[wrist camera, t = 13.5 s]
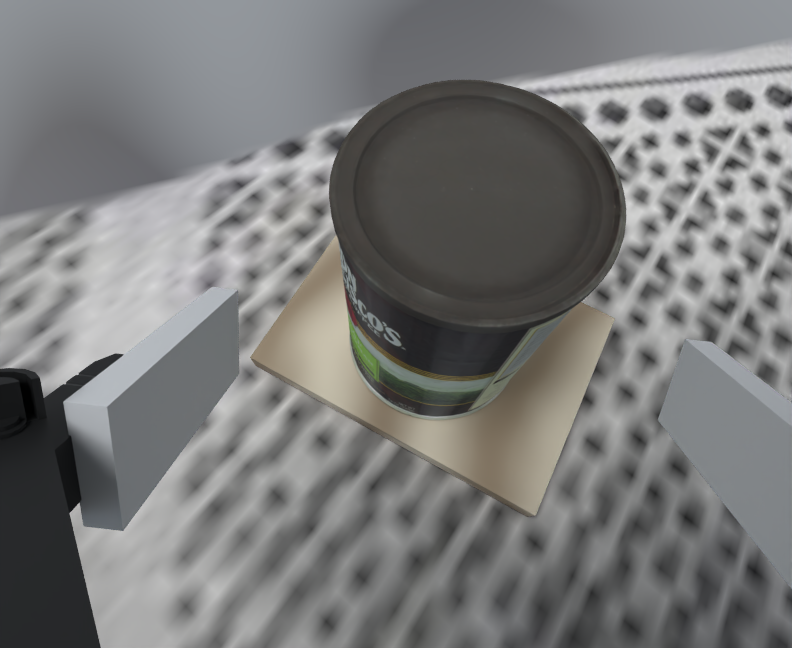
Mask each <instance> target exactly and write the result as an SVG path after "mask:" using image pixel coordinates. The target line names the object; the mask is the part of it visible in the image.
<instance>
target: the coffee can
mask: <svg viewBox="0 0 792 648" xmlns="http://www.w3.org/2000/svg"><path fill="white" fill-rule="evenodd" d="M329 199H330V207H331V215H332V220H333V224H334V228H335V232H336V235H337V238H338V241H339V250H340V259H341V267H342V274H343V281H344V290H345V298H346V304H347V313H348V321H349V330H350V332H349V342H350V350H351V355H352V360H353V362H354V365H355V367H356V369H357V372H358V373H359V375H360V377H361V378H362V380H363V382H364V383H365V384H366V386H367V387H368V388H369V389H370V390H371V391H372V392H373V393H374V394H375V395H376V396H377V397H378V398H379V399H380V400H382V401H383V402H384V403H386V404H387V405H388V406H390V407H392V408H394V409H395V410H397V411H399V412H401V413H404V414H406V415H409V416H413V417H416V418H421V419H428V420H447V419H454V418H459V417H463V416H467V415H469V414H472V413H474V412H476V411H478V410H480V409H482V408H483V407H485V406H486V405H488V404H489V403H490V402H492V401H493V400H494V399H495V398H496V397H497V396H498V395H499V394H500V393H501V392H502V391H503V390H504V388H505V387H506V385H507V384H508V382H509V381H510V379H511V378H512V377H513V376H514V375H515V373H516V372H517V371H518V370H519V369H520V368H521V367H522V366H523V365H524V363H525V362H526V361H527V360H528V359H529V358H530V357H531V356H532V354H533V353H534V352H535V351H536V350H537V348H538V347H539V346H540V345H541V344H542V343H543V341H544V340H545V339H546V338H547V337H548V336H549V335H550V333H551V332H552V331H553V330H554V329H555V328H556V327H557V326H558V324H559V323H560V322H561V321H562V320H563V319H564V317H565V316H566V315H567V314H568V313H569V312H570V311H571V309H572V308H573V307H575V306H576V305H578V304H579V303H580V302H581V301H582V300H583V299H585V298H586V297H587V296H588V295H589V294H590V293H591V292H592V291H593V290H594V289H595V288H596V287H597V286H598V285H599V283H600V282H601V281H602V280H603V279H604V277H605V276H606V275H607V273H608V272H609V271H610V269H611V268H612V266H613V264H614V262H615V260H616V258H617V256H618V253H619V250H620V247H621V244H622V241H623V238H624V233H625V225H626V203H625V197H624V192H623V187H622V184H621V181H620V178H619V175H618V172H617V170H616V169H615V166H614V164H613V162H612V160H611V158H610V156H609V155H608V153H607V151H606V150H605V148H604V147H603V145H602V144H601V143H600V142H599V141H598V139H597V138H596V137H595V136H594V135H593V134H592V133H591V132H590V131H589V130H588V129H587V128H586V127H585V126H584V125H583V124H582V123H581V122H580V121H579V120H577V119H576V118H575V117H573V116H572V115H571V114H570V113H568V112H567V111H565V110H564V109H562V108H561V107H559V106H557V105H556V104H554V103H552V102H550V101H548V100H546V99H544V98H542V97H540V96H538V95H536V94H533V93H530V92H528V91H525V90H522V89H519V88H516V87H511V86H507V85H503V84H499V83H493V82H487V81H480V80H448V81H441V82H434V83H431V84H425V85H422V86H419V87H415V88H412V89H409V90H406V91H404V92H401V93H399V94H397V95H394V96H392V97H390V98H389V99H387V100H385V101H383V102H381V103H380V104H378V105H377V106H376V107H374V108H373V109H371V110H370V111H369V112H368V113H366V114H365V115H364V116H363V117H362V118H361V119H360V120H359V121H358V123H357V124H356V125H355V126H354V127H353V128H352V130H351V131H350V132H349V134H348V135H347V137H346V138H345V140H344V141H343V143H342V145H341V147H340V149H339V151H338V153H337V156H336V158H335V161H334V164H333V167H332V171H331V176H330V185H329Z"/></svg>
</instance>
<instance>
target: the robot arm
mask: <svg viewBox="0 0 792 648" xmlns="http://www.w3.org/2000/svg"><path fill="white" fill-rule="evenodd" d="M238 374H239V323H238V290H235V289H226V288H217V287H211V288H210V289H209V290H207V291H206V292H205V293H204V294H202V295H201V296H200V297H198V298H197V299H196V300H194V301H193V302H192V303H191V304H189V305H188V306H187V307H185V308H184V309H183V310H182V311H180V312H179V313H178V314H176V315H175V316H174V317H172V318H171V319H170V320H169V321H167V322H166V323H165V324H163V325H162V326H161V327H159V328H158V329H157V330H156V331H154V332H153V333H152V334H150V335H149V336H148V337H147V338H145V339H144V340H143V341H141V342H140V343H139V344H137V345H136V346H135V347H134V348H132V349H131V350H130V351H128V352H127V353H126V354H113V355H111V356H108V357H106V358H103V359H100V360H98V361H95V362H93V363H92V364H91V365H89V366H88V367H86V368H85V369H84V370H82V371H81V372H80V373H79V375H75V376H74V377H73V378H71V379H70V380H68V381H67V382H66V385H65V384H63V385H62V386H60V387H59V388H57V389H56V390H55V391H53V392H52V393H50V394H49V395H48V396H46V397H45V398H43V393H42V387H41V382H40V378H39V376H38V375H37V374H36V373H35V372H32V371H29V370H26V369H14V368H6V369H0V648H101V647H100V643H99V639H98V634H97V630H96V626H95V621H94V617H93V613H92V609H91V604H90V600H89V596H88V591H87V587H86V583H85V579H84V574H83V570H82V566H81V561H80V557H79V553H78V549H77V544H76V540H75V536H74V531H73V527H72V523H71V519H70V514H69V513H70V512H71V511H72V510H73V509H74V508H75V507H76V505H77V504H78V503H79V502H80V507H81V513H82V519H83V525H84V526H86V527H95V528H103V529H112V530H121V531H123V530H124V529H125V527H126V526H127V525H128V523H129V522H130V521H131V519H132V518H133V517H134V515H135V514H136V513H137V511H138V510H139V509H140V507H141V506H142V504H143V503H144V502H145V500H146V499H147V498H148V496H149V495H150V494H151V492H152V491H153V490H154V488H155V487H156V485H157V484H158V483H159V481H160V480H161V479H162V477H163V476H164V475H165V473H166V472H167V471H168V469H169V468H170V467H171V465H172V464H173V462H174V461H175V460H176V458H177V457H178V456H179V454H180V453H181V452H182V450H183V449H184V448H185V446H186V445H187V444H188V442H189V441H190V439H191V438H192V437H193V435H194V434H195V433H196V431H197V430H198V429H199V427H200V426H201V425H202V423H203V422H204V420H205V419H206V418H207V416H208V415H209V414H210V412H211V411H212V410H213V408H214V407H215V406H216V404H217V403H218V402H219V400H220V399H221V397H222V396H223V395H224V393H225V392H226V391H227V389H228V388H229V387H230V385H231V384H232V383H233V381H234V380H235V379H236V377H237V376H238ZM658 421H659V422H660V423H661V425H662V426H663V427H664V429H665V430H666V431H667V432H668V434H669V435H670V436H671V437H672V439H673V440H674V441H675V442H676V444H677V445H678V446H679V447H680V449H681V450H682V451H683V453H684V454H685V455H686V456H687V458H688V459H689V460H690V461H691V463H692V464H693V465H694V466H695V468H696V469H697V470H698V471H699V473H700V474H701V475H702V477H703V478H704V479H705V480H706V482H707V483H708V484H709V485H710V487H711V488H712V489H713V490H714V492H715V493H716V494H717V496H718V497H719V498H720V499H721V501H722V502H723V503H724V504H725V506H726V507H727V508H728V509H729V511H730V512H731V513H732V514H733V516H734V517H735V518H736V520H737V521H738V522H739V523H740V525H741V526H742V527H743V528H744V530H745V531H746V532H747V533H748V535H749V536H750V537H751V539H752V540H753V541H754V542H755V544H756V545H757V546H758V547H759V549H760V550H761V551H762V552H763V554H764V555H765V556H766V557H767V559H768V560H769V561H770V563H771V564H772V565H773V566H774V568H775V569H776V570H777V571H778V573H779V574H780V575H781V576H782V578H783V579H784V580H785V581H786V583H787V584H788V585H789V587H790V588H791V589H792V403H791V402H790V401H789V400H788V399H786V398H785V397H784V396H782V395H781V394H780V393H778V392H777V391H776V390H774V389H773V388H772V387H770V386H769V385H768V384H766V383H765V382H764V381H762V380H761V379H760V378H758V377H757V376H756V375H755V374H753V373H752V372H751V371H749V370H748V369H747V368H745V367H744V366H743V365H741V364H740V363H739V362H737V361H736V360H735V359H733V358H732V357H731V356H729V355H728V354H727V353H725V352H724V351H723V350H722V349H720V348H719V347H718V346H716V345H715V344H714V343H712V342H707V341H698V340H689V339H685V341H684V344H683V347H682V350H681V353H680V356H679V359H678V362H677V365H676V368H675V371H674V374H673V377H672V380H671V383H670V386H669V389H668V392H667V395H666V398H665V401H664V403H663V406H662V409H661V412H660V415H659V418H658Z"/></svg>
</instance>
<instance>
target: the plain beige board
mask: <svg viewBox="0 0 792 648" xmlns="http://www.w3.org/2000/svg"><path fill="white" fill-rule="evenodd" d="M614 320H615V318H613V317H611V316H609V315H607V314H605V313H603V312H600V311H598V310H596V309H594V308H592V307H590V306H588V305H586V304H584V303H582V302H580V303H579V304H578V305H576V306H575V307H573V308H572V309H571V311H570V312H569V313H568V314H567V315H566V316H565V317H564V319H563V320H562V321H561V322H560V323H559V324H558V326H557V327H556V328H555V329H554V330H553V331H552V332H551V333H550V335H549V336H548V337H547V338H546V339H545V340H544V341H543V343H542V344H541V345H540V346H539V347H538V348H537V350H536V351H535V352H534V353H533V354H532V356H531V357H530V358H529V359H528V360H527V361H526V362H525V363H524V365H523V366H522V367H521V368H520V369H519V370H518V371H517V372H516V373H515V375H514V376H513V377H512V378H511V379H510V381H509V382H508V384H507V385H506V387H505V388H504V390H503V391H502V392H501V393H500V394H499V395H498V396H497V397H496V398H495V399H494V400H493V401H492V402H490V403H489V404H488V405H486V406H485V407H483V408H482V409H480V410H478V411H476V412H474V413H472V414H469V415H467V416H463V417H459V418H454V419H447V420H428V419H421V418H416V417H413V416H409V415H406V414H404V413H401V412H399V411H397V410H395V409H394V408H392V407H390V406H388V405H387V404H386V403H384V402H383V401H382V400H380V399H379V398H378V397H377V396H376V395H375V394H374V393H373V392H372V391H371V390H370V389H369V388H368V387H367V386H366V384H365V383H364V382H363V380H362V378H361V377H360V375H359V373H358V372H357V369H356V367H355V365H354V362H353V360H352V355H351V350H350V342H349V332H350V330H349V321H348V313H347V304H346V298H345V290H344V281H343V274H342V267H341V259H340V250H339V241H338V238H337V235H336V236H335V237H334V239H333V240H332V242H331V243H330V245H329V246H328V247H327V249H326V250H325V252H324V253H323V255H322V256H321V257H320V259H319V260H318V262H317V263H316V265H315V266H314V267H313V269H312V270H311V272H310V273H309V274H308V276H307V277H306V279H305V280H304V282H303V283H302V284H301V286H300V287H299V289H298V290H297V292H296V293H295V294H294V296H293V297H292V299H291V300H290V302H289V303H288V304H287V306H286V307H285V309H284V310H283V311H282V313H281V314H280V316H279V317H278V319H277V320H276V321H275V323H274V324H273V326H272V327H271V329H270V330H269V331H268V333H267V334H266V336H265V337H264V339H263V340H262V341H261V343H260V344H259V346H258V347H257V348H256V350H255V351H254V353H253V354H252V356H251V357H250V358H251V359H252V361H253V362H254V364H255V365H256V366H257V367H259V368H261V369H263V370H265V371H266V372H268V373H270V374H272V375H274V376H275V377H277V378H279V379H281V380H283V381H284V382H286V383H288V384H290V385H291V386H293V387H295V388H297V389H299V390H300V391H302V392H304V393H306V394H308V395H309V396H311V397H313V398H315V399H317V400H318V401H320V402H322V403H324V404H326V405H327V406H329V407H331V408H333V409H335V410H336V411H338V412H340V413H342V414H344V415H345V416H347V417H349V418H351V419H353V420H354V421H356V422H358V423H360V424H362V425H363V426H365V427H367V428H369V429H371V430H372V431H374V432H376V433H378V434H380V435H381V436H383V437H385V438H387V439H389V440H390V441H392V442H394V443H396V444H398V445H399V446H401V447H403V448H405V449H407V450H408V451H410V452H412V453H414V454H416V455H417V456H419V457H421V458H423V459H424V460H426V461H428V462H430V463H432V464H433V465H435V466H437V467H439V468H441V469H442V470H444V471H446V472H448V473H450V474H451V475H453V476H455V477H457V478H459V479H460V480H462V481H464V482H466V483H468V484H469V485H471V486H473V487H475V488H477V489H478V490H480V491H482V492H484V493H486V494H487V495H489V496H491V497H493V498H495V499H496V500H498V501H500V502H502V503H504V504H505V505H507V506H509V507H511V508H513V509H514V510H516V511H518V512H520V513H522V514H523V515H525V516H527V517H530V516H536V513H537V511H538V508H539V506H540V503H541V501H542V498H543V496H544V493H545V491H546V489H547V486H548V484H549V481H550V479H551V476H552V474H553V471H554V469H555V466H556V464H557V461H558V459H559V456H560V454H561V451H562V449H563V446H564V444H565V441H566V439H567V436H568V434H569V431H570V429H571V426H572V424H573V421H574V419H575V417H576V414H577V412H578V409H579V407H580V404H581V402H582V399H583V397H584V394H585V392H586V389H587V387H588V384H589V382H590V379H591V377H592V374H593V372H594V369H595V367H596V364H597V362H598V359H599V357H600V354H601V352H602V350H603V347H604V345H605V342H606V340H607V337H608V335H609V332H610V330H611V327H612V325H613V322H614Z"/></svg>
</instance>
